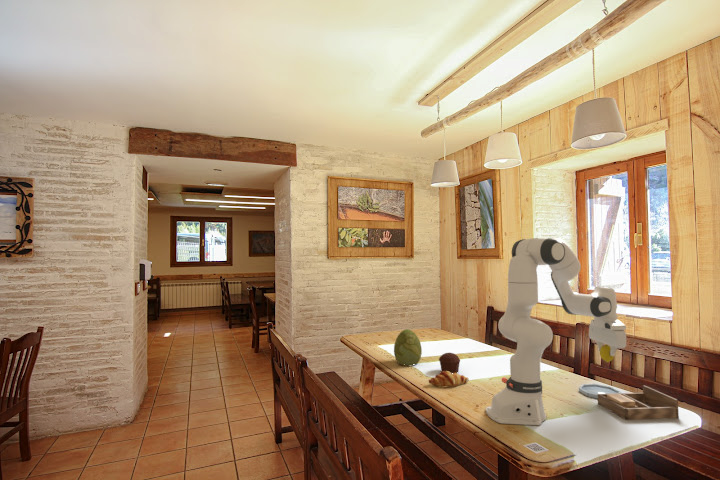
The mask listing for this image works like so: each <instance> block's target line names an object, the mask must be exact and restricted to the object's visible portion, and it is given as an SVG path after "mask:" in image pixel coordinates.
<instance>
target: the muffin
mask: <svg viewBox="0 0 720 480" xmlns="http://www.w3.org/2000/svg"><path fill="white" fill-rule="evenodd" d="M438 361H439V364H440V370H442V371H449V372H451V373H457V372H458V373H459V370H460V362H461V359H460V358H459V356H458V355H457V354H456V353H453V352H445V353H443V354H441V355H440V357H439V358H438ZM442 371H441V372H442ZM458 373H457V374H458Z"/></svg>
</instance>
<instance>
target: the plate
mask: <svg viewBox="0 0 720 480" xmlns="http://www.w3.org/2000/svg"><path fill="white" fill-rule="evenodd" d="M578 392H579V393H581V394H582V395H583V396H586V397H588V398H592V399H597V400H598V394H613V393H622V391H621V390H618V389H617V388H614V387H613V386H609V385H604V384H598V383H583V384H582V383H581V385H580V386H578Z"/></svg>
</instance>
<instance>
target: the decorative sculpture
mask: <svg viewBox="0 0 720 480" xmlns="http://www.w3.org/2000/svg"><path fill="white" fill-rule="evenodd" d="M422 350H423V349H422V345H421V341H420V338H419V337H418V335H417V334H416V333H415V332H414V330H411V329H409V328H407V329H403V330H401V332H400V333H398V335H397V336H396V339H395V342H394V346H393V354H394V358H395V360H396V362H397V363H398V364H399V363H400V364H405V365H413V364H416V365H418V364H419V363H420V360H421V358H422V354H423V353H422V352H423V351H422ZM400 364H399V365H400ZM413 366H414V365H413Z"/></svg>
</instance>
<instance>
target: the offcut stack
mask: <svg viewBox="0 0 720 480" xmlns="http://www.w3.org/2000/svg"><path fill="white" fill-rule="evenodd" d="M607 398H608V399H610V400H612V401H614V402H616V403H618V404H619V405H621V406H623V407H625V408H638V406H636V405H635V401H633V400H631V399H629V398H627V397H625V396H623V395H621V394H608V395H607Z"/></svg>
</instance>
